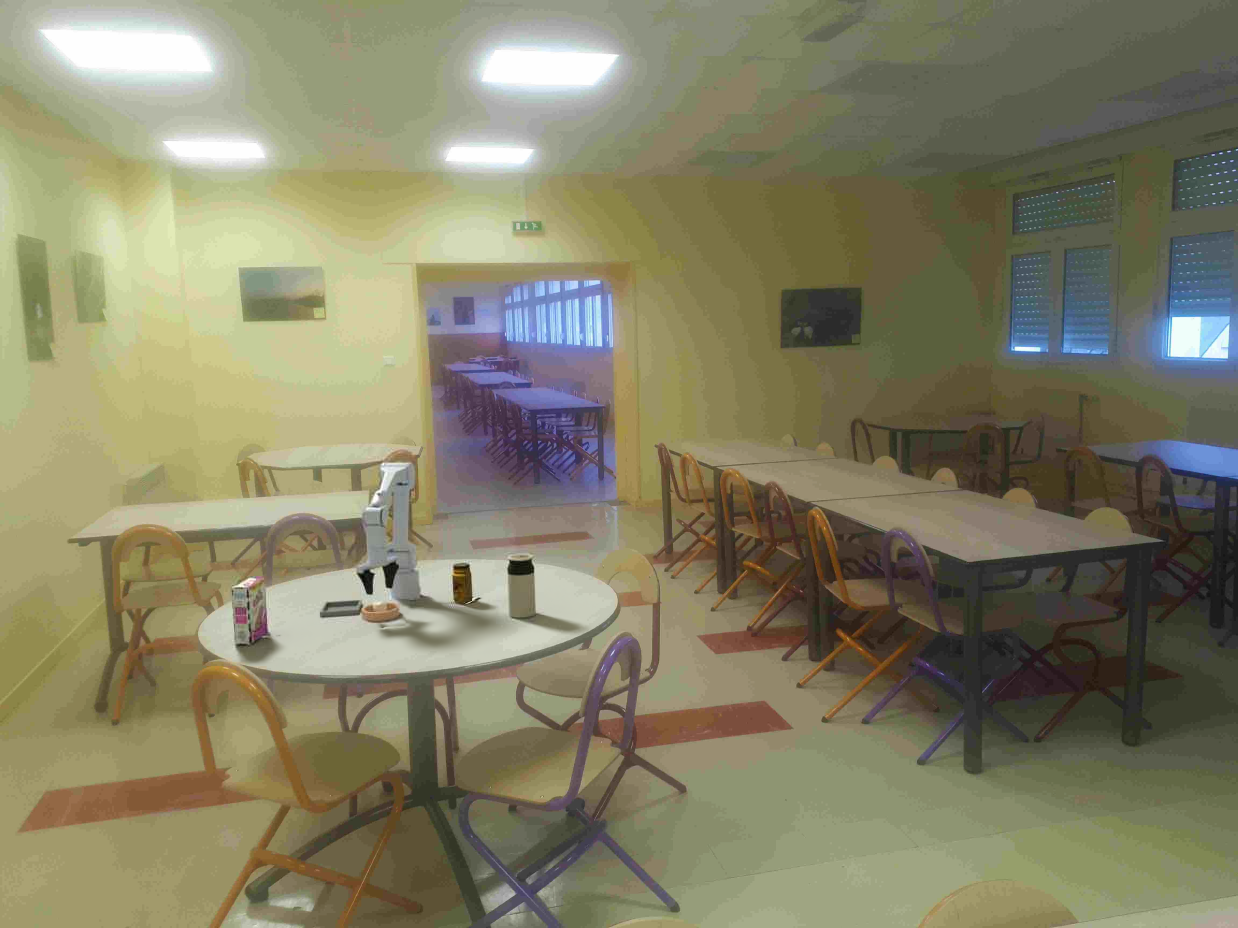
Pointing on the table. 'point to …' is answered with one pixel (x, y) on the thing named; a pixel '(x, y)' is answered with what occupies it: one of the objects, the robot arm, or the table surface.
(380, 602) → the cream round lump
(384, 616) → the bowl
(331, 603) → the tray
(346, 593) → the table surface
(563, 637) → the table surface
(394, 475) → the robot arm
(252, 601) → the candy bar box
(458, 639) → the table surface
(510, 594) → the travel mug
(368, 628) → the table surface
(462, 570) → the condiment
